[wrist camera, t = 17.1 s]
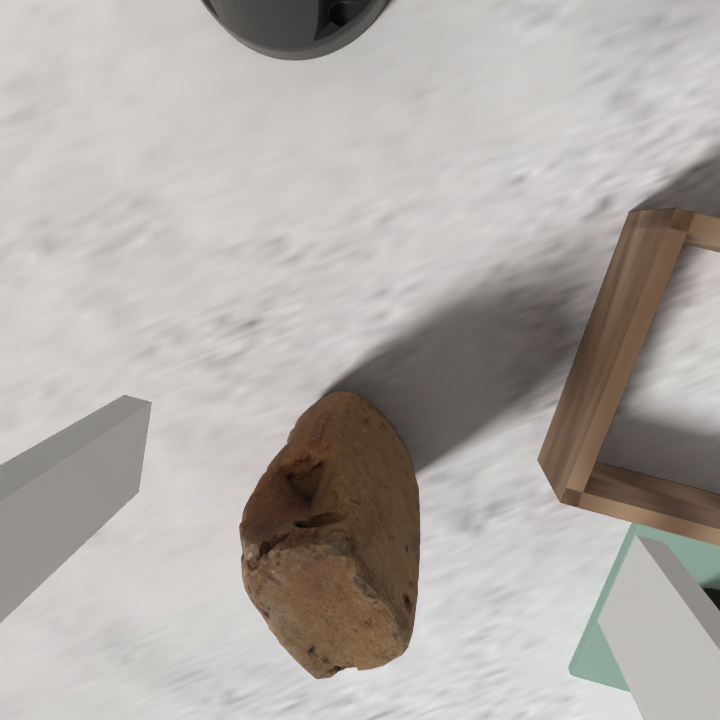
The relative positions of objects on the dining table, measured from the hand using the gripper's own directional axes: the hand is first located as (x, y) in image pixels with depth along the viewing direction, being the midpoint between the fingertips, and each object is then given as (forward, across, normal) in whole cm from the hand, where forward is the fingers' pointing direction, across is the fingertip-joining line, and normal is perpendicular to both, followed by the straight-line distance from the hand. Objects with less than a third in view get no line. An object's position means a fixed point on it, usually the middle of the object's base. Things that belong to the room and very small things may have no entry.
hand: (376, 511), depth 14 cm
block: (+29, -1, -11) cm, 31 cm away
